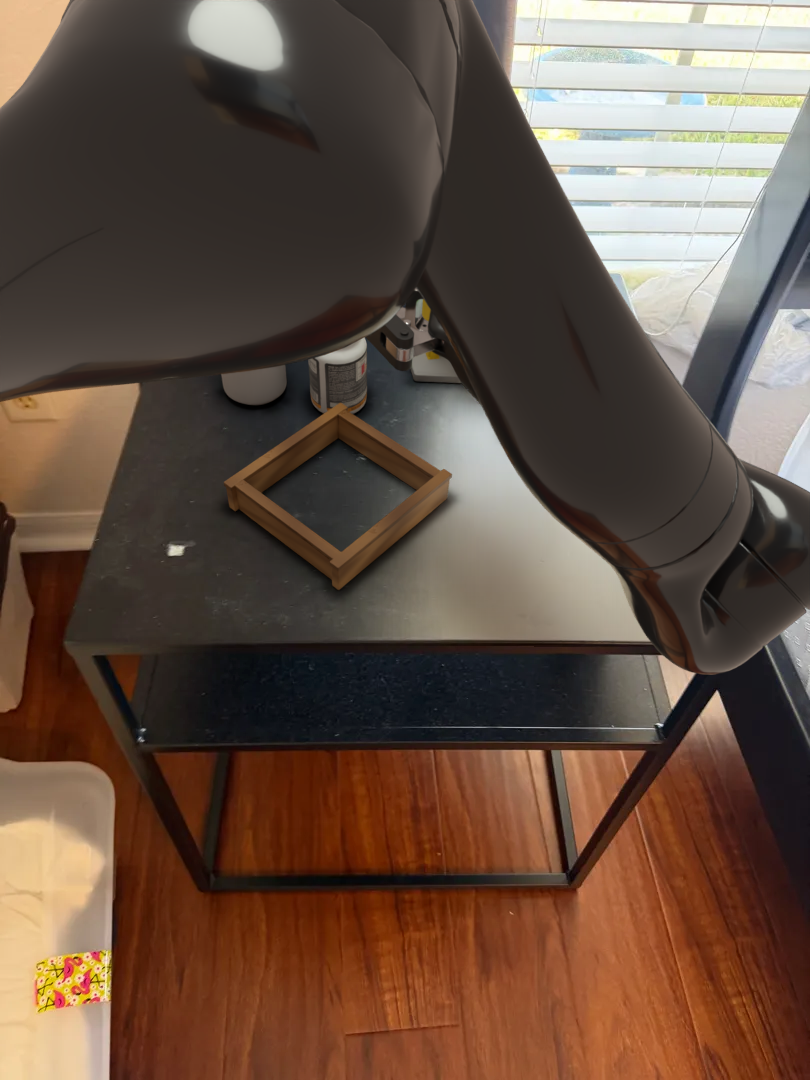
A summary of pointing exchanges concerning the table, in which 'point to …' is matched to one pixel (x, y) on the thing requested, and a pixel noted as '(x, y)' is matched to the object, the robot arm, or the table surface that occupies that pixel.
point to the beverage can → (255, 385)
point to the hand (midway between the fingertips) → (413, 248)
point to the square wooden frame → (304, 445)
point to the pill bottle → (340, 378)
